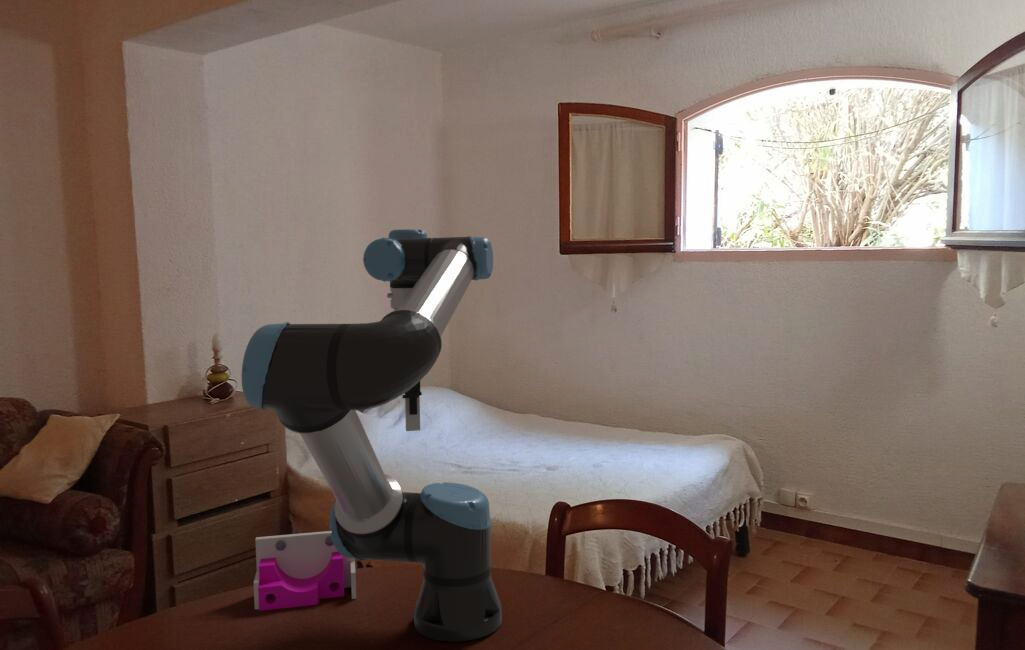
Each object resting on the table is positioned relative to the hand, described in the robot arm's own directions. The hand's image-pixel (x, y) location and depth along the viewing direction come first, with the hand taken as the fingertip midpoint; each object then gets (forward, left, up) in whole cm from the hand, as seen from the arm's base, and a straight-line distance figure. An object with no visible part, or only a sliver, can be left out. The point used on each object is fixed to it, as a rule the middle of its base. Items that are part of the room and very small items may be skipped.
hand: (413, 429), depth 153 cm
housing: (-4, +21, -29) cm, 36 cm away
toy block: (-5, +22, -30) cm, 37 cm away
